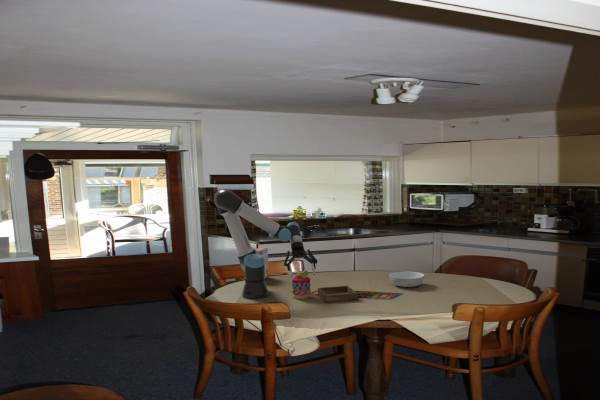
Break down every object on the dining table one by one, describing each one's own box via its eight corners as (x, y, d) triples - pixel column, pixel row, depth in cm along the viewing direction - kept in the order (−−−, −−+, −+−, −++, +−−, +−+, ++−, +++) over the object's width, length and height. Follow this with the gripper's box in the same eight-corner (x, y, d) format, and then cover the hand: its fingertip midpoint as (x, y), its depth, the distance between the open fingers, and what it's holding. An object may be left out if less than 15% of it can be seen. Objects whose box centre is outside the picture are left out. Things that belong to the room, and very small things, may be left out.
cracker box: (261, 277, 319) (260, 246, 318) (269, 277, 317) (268, 247, 316) (252, 281, 306) (251, 250, 305) (260, 282, 304) (259, 250, 303)
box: (317, 294, 268) (317, 288, 268) (347, 292, 272) (347, 285, 271) (325, 303, 250) (325, 295, 250) (357, 300, 254) (357, 293, 254)
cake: (298, 300, 257) (297, 273, 256) (289, 296, 266) (288, 270, 265) (314, 297, 262) (313, 271, 261) (304, 293, 271) (304, 268, 270)
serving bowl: (409, 280, 297) (409, 269, 297) (432, 287, 278) (431, 275, 278) (382, 284, 288) (382, 273, 288) (404, 291, 269) (403, 280, 269)
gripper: (315, 246, 289) (322, 276, 275) (276, 249, 283) (281, 279, 270) (317, 239, 283) (324, 269, 270) (277, 242, 278) (282, 272, 264)
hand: (303, 274), depth 270 cm, fingers open, 13 cm apart
